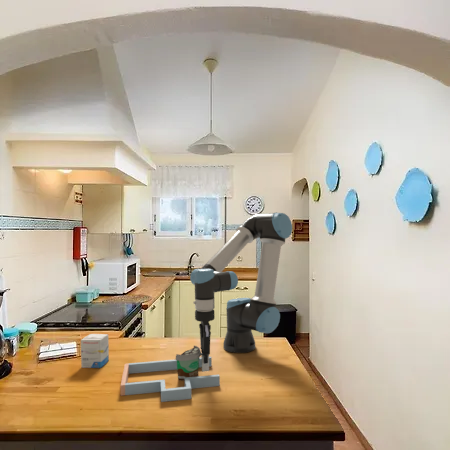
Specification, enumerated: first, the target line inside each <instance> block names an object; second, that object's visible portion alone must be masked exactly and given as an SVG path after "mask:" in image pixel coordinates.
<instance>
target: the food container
mask: <svg viewBox="0 0 450 450" xmlns="http://www.w3.org/2000/svg"><path fill="white" fill-rule="evenodd" d="M200 353H202V352H201V348H200V347H199V346H197V345H193V348H190V349H188V350H185V351H183V352H182V353H181V354H177V353H176V355H175V359H174V360H177V369H176V371H177V380H178V381H182V382H185V378H186V377H197V376H199V368H200V367H199V357H201V354H200Z"/></svg>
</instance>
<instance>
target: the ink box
mask: <svg viewBox="0 0 450 450" xmlns="http://www.w3.org/2000/svg"><path fill="white" fill-rule="evenodd" d="M109 353H110V352H109V334H106V333H105V334H104V333H103V334H102V333H90V334H88V335H86V336H84V337H83V338H82V339H80V355H81V356H80V357H81V359H80V361H81V368H85V369H87V368H89V369H91V368H93V369H96V368H97V369H101V368H103V367H104V366H105V365H106V364H107V363H108V362H109Z"/></svg>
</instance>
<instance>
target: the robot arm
mask: <svg viewBox="0 0 450 450" xmlns="http://www.w3.org/2000/svg"><path fill="white" fill-rule="evenodd" d="M292 231H293V224H292V221H291V219H290V216H288V214H287V213H284V212H269V213H268V212H266V213H264V212H263V213H257V214H253V215H251V216H250V217H249V218H247V219H246V220H244V221H243V222H242V223H241V224H240V225H239V226H238V227H237V228H236V232H235V233H234V234H232V236H231V237H230V238H229V240H227V241H226V242H225V244H223V246H221V248H219V250H218V251H216V252H215V253H214V254H213V256H212V257H210V259H209V260H208V261H207V262H206V263H205V264H204V265H203V266H202V267H201V268H195V269H193V270H192V272H191V273H190V276H189V277H190V279H189V280H190V282H191V284H193V286H194V301H193V305H194V309H195V311H194V320H195V321H197V322H200V323H199V324H198V326H199V335H200V336H199V339H200V347H199V348H200V351H201V353H200V354H201V356H200V357H202V367H201V372H204V373H205V372H210V367H209V357H210V355H211V336H212V335H211V334H212V332H211V329H212V327H211V324H210V322H212V321H214V320H215V293H218V292H224V291H225V292H226V291H230V290H231V291H232V290H235V289H236V288H237V286H238V283H239V277H238V275H237V273H235V272H234V271H229V270H227V271H224V270H225V268H226V267H227V266H228V265H229V264H230V263H231V262H232V261H234V259H235V258H236V257H237V256H238V254H239V253H240V252H242V250H243V249H244V248H245V247H246V246H247V245H248V244H251V243H253V242H254V241H255V240H256V239H258V238H259V241H260V242H261V244H262V245H261V252H260V259H259V263H258V271H257V277H256V282H255V283H256V284H255V290H254V296H253V297H238V298H231V299H229V300H227V303H226V334H225V337H224V340H223V349H224V350H225V351H226V352H229V353H234V354H235V353H236V354H242V353H243V354H245V353H250V352H253V351H254V350H255V349H256V340H255V338H254V334H253V331H256V332H258V333H261V334H262V333H263V334H270V333H273V332H274V331H275V330H276V329H277V327H278V326H279V323H280V321H281V320H280V319H281V313H280V310H279V309H278V308H277V301H275V299H274V297H275V290H276V285H277V284H276V283H277V276H278V270H279V264H280V256H281V249H282V246H283V245H285V243H286V239H288V238H289V237H291V235H292Z"/></svg>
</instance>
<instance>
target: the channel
mask: <svg viewBox="0 0 450 450" xmlns="http://www.w3.org/2000/svg"><path fill="white" fill-rule="evenodd" d="M212 360H213V359H212V356H209V368H210V367H212ZM199 368H202V357H201V356H200V357H199ZM174 370H176V371H177V360H175V359H165V360H152V361H143V362H142V361H141V362H130V363H129V362H128V363H124V368H123V372H122V377H121V381H120V382H121V383H120V397H121V396H131V395H132V396H133V395H140V394H142V395H143V394H151V393H153V394H154V393H160V402H161V403H163V402H173V401H182V400H191V399H192V389H200V388H201V389H202V388H212V387H213V388H214V387H220V385H221V384H220V383H221V382H220V380H221V379H220V378H221V377H220V374H210V375H209V374H208V375H198V376H197V377H186V378H185V381H184V386H180V387H170V388H169V387H168V388H166V379H157V380H156V379H155V380H145V381H144V380H143V381H135V382H128V381H129V375H130V374H139V373H141V374H142V373H153V372H164V371H174Z"/></svg>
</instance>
